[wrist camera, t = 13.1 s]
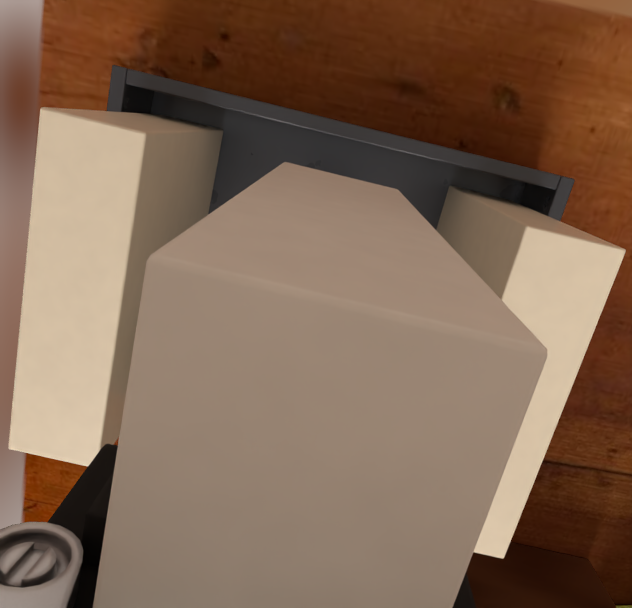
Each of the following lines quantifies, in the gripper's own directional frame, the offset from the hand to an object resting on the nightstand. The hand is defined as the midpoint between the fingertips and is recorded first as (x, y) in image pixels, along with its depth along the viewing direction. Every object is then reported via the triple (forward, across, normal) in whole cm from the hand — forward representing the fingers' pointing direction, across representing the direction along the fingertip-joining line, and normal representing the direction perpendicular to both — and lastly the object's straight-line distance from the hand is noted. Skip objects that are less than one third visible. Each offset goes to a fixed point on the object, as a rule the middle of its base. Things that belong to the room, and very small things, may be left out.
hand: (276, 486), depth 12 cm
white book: (+8, 0, 0) cm, 8 cm away
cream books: (+19, 0, 0) cm, 19 cm away
